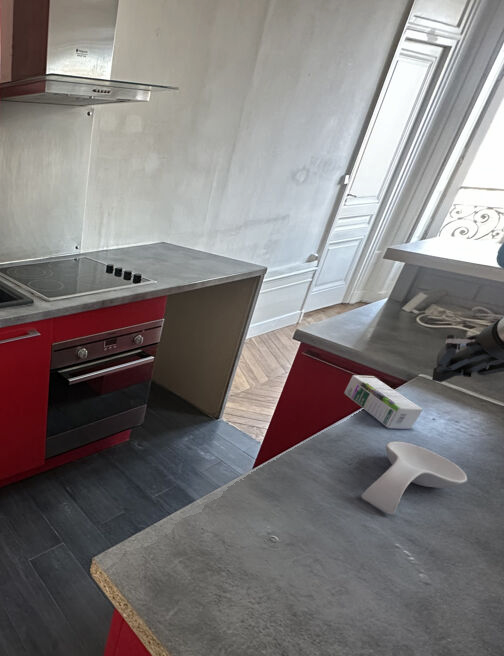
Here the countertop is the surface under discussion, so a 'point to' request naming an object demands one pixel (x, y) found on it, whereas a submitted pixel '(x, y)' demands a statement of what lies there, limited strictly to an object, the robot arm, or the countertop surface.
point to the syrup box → (382, 402)
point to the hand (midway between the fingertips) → (437, 375)
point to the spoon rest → (411, 474)
